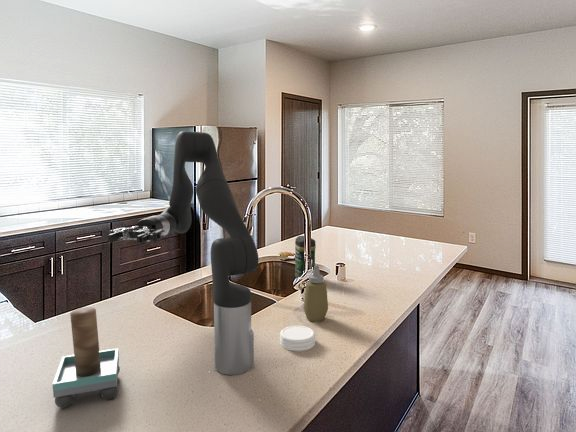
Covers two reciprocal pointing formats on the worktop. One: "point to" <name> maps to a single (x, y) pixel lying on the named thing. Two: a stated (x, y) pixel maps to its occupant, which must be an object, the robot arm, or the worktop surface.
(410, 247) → the worktop surface
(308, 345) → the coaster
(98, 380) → the wheeled cart
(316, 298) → the squeeze bottle
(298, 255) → the coffee jar
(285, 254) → the pastry
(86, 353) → the cylinder
